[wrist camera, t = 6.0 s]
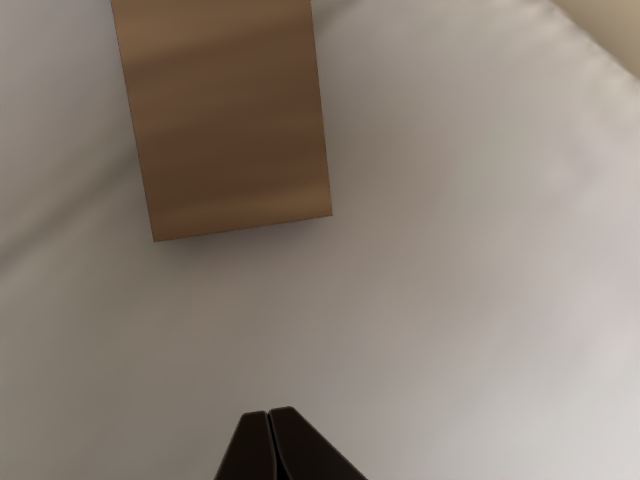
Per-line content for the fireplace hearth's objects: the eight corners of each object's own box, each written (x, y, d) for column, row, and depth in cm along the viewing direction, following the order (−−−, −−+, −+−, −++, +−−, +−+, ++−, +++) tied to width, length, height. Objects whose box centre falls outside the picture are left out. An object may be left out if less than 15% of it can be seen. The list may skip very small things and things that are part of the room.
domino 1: (332, 215, 18) (291, -181, 15) (153, 242, 17) (79, -174, 14) (321, 206, 19) (281, -155, 17) (156, 230, 18) (90, -147, 16)
